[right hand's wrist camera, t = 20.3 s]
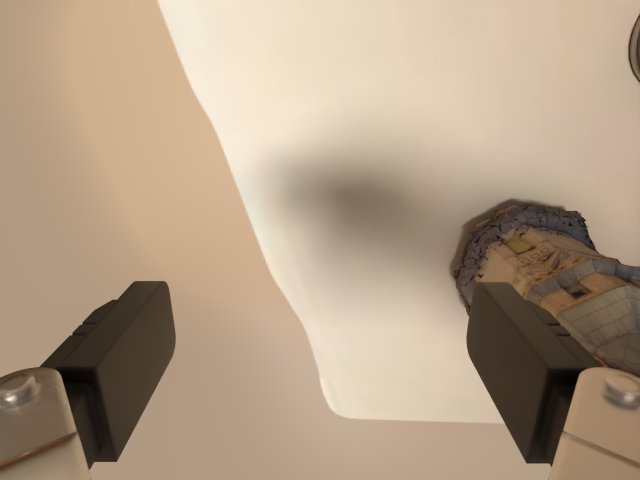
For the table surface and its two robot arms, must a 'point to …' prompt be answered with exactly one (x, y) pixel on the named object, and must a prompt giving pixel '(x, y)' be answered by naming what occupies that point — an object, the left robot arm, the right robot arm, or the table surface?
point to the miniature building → (560, 278)
